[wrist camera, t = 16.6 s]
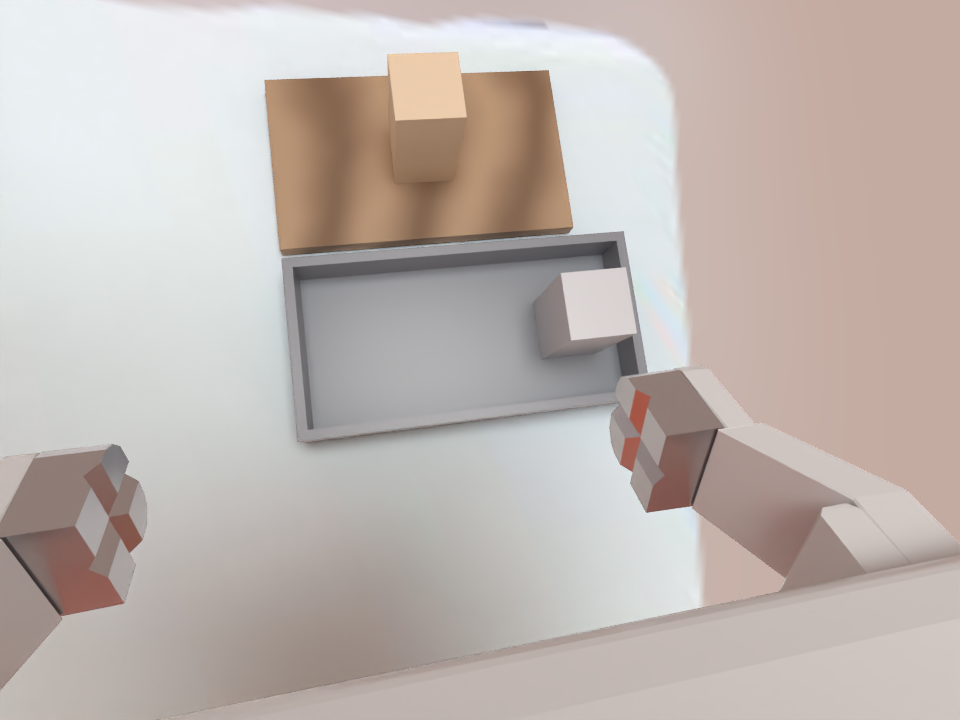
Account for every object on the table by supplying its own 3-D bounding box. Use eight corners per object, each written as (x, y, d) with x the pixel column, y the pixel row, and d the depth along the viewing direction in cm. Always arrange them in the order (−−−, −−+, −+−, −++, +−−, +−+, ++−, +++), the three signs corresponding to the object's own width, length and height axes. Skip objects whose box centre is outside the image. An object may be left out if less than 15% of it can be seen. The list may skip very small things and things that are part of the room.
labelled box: (395, 184, 41) (395, 120, 33) (388, 127, 42) (387, 51, 34) (453, 180, 42) (467, 117, 34) (445, 124, 42) (457, 49, 34)
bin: (306, 442, 39) (297, 441, 35) (291, 275, 40) (281, 258, 37) (630, 401, 42) (651, 396, 39) (605, 248, 44) (623, 231, 40)
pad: (283, 255, 40) (279, 249, 39) (268, 90, 42) (264, 80, 41) (568, 232, 44) (573, 226, 42) (544, 80, 45) (548, 70, 44)
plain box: (541, 359, 41) (571, 340, 34) (533, 302, 42) (560, 273, 35) (597, 352, 42) (637, 333, 35) (588, 297, 42) (625, 267, 35)
